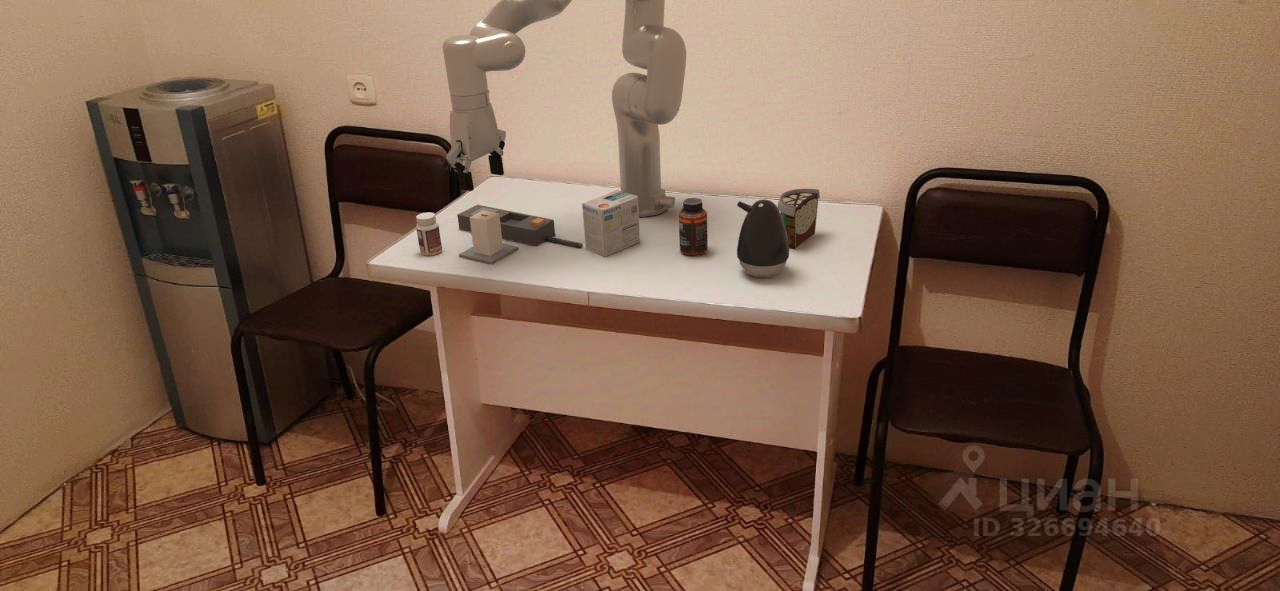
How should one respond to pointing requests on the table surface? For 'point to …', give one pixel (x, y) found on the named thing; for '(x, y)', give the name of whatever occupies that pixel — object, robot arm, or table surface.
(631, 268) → the table surface
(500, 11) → the robot arm
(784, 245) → the pump dispenser
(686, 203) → the supplement bottle
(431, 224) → the pill bottle
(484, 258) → the grey mat
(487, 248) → the block
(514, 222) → the power strip
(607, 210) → the light bulb box
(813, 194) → the food container
